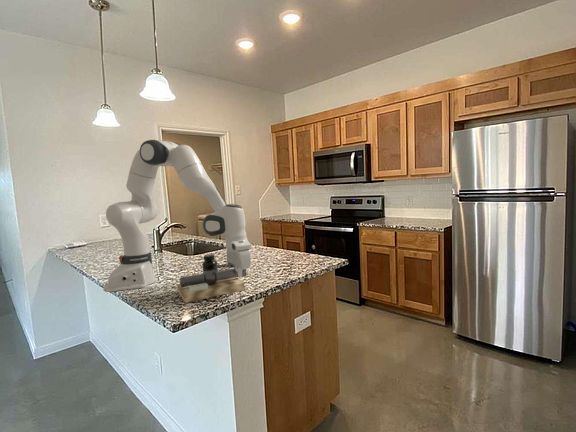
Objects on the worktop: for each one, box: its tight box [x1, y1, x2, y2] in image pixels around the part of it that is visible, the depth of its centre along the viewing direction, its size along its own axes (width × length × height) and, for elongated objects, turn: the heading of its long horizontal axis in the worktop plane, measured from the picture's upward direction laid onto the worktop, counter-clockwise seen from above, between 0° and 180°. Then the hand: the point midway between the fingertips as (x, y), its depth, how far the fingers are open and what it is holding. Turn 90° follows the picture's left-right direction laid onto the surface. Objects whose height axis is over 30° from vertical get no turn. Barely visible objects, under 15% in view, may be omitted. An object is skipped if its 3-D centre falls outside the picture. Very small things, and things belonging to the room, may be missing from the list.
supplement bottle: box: [201, 254, 219, 273], centre depth 150 cm, size 7×7×12 cm
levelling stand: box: [177, 277, 246, 303], centre depth 135 cm, size 24×16×5 cm, turn 118°
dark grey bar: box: [179, 267, 247, 287], centre depth 136 cm, size 28×5×5 cm, turn 116°
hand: (239, 275), depth 137 cm, fingers closed
